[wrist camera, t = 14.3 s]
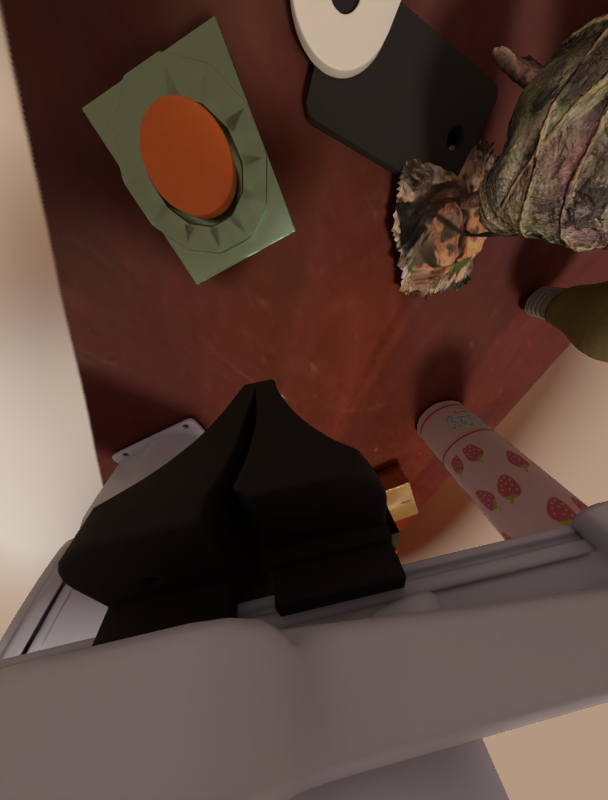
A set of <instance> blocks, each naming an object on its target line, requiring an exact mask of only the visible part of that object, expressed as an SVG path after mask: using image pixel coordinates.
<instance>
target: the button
mask: <svg viewBox="0 0 608 800" xmlns="http://www.w3.org/2000/svg"><path fill="white" fill-rule="evenodd" d="M139 138H140V150H141V156H142V160H143V163H144V166H145V169H146V171H147V174H148V176H149V178H150V180H151V181H152V183H153V185H154V186H155V188H156V189H157V191H158V192H159V193H160V194H161V196H162V197H163V198H164V199H165V200H166V201H167V202H169V203H170V204H171V205H172V206H174V207H175V208H177V209H178V210H180V211H182V212H184V213H187V214H189V215H191V216H194V217H197V218H201V219H212V218H215V217H218V216H220V215H222V214H223V213H224V212H225V211H226V210H227V209H228V208H229V207H230V205H231V203H232V201H233V199H234V196H235V192H236V186H237V174H236V167H235V163H234V159H233V156H232V153H231V150H230V147H229V145H228V142H227V139H226V137H225V135H224V133H223V131H222V129H221V128H220V126H219V124H218V123H217V121H216V120H215V119H214V117H213V116H212V115H211V114H210V113H209V112H208V111H207V110H206V109H205V108H204V107H203V106H201V105H200V104H199V103H197V102H196V101H194V100H192V99H190V98H188V97H185V96H181V95H166V96H162V97H160V98H158V99H156V100H155V101H154V102H153V103H152V104H151V105H150V106H149V107H148V109H147V110H146V112H145V114H144V116H143V119H142V122H141V127H140V136H139Z"/></svg>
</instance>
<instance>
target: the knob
mask: <svg viewBox="0 0 608 800" xmlns="http://www.w3.org/2000/svg"><path fill="white" fill-rule="evenodd" d="M385 521H386V523H387V526H388V528H389V530H390V533H391V535H392V541H391V542H392V544H393V547H394V549H395V551H396V554H397V548H398V540H399V534H400V532H399V530H398V528H397V526H396V524H395V522H394V519H393V517H392V515H391V513H390V511H389V509H388V507H387V506H386V520H385Z"/></svg>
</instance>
